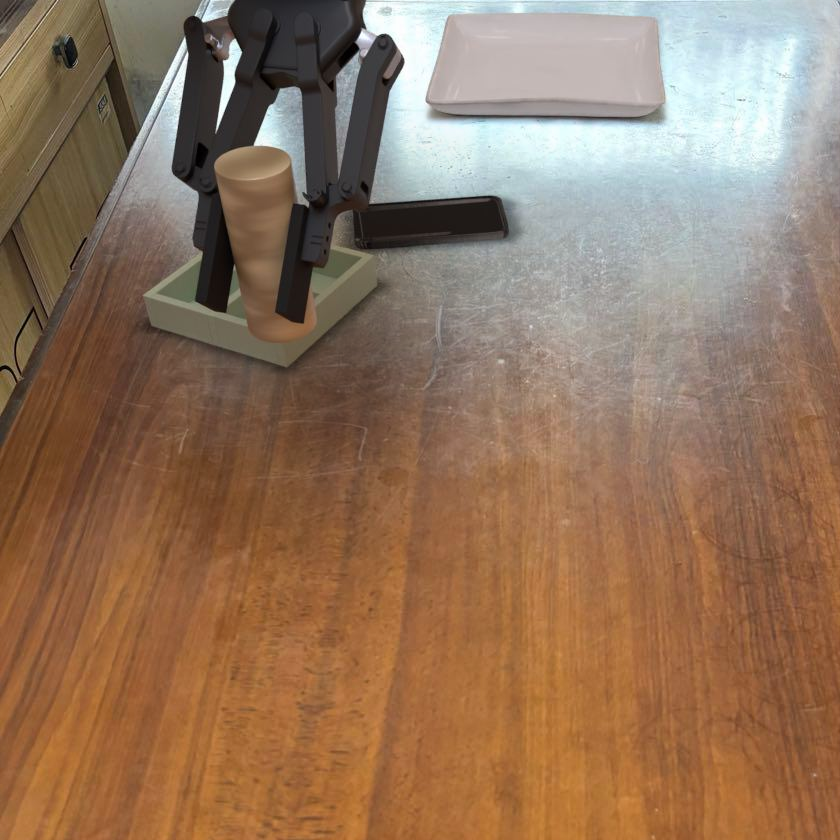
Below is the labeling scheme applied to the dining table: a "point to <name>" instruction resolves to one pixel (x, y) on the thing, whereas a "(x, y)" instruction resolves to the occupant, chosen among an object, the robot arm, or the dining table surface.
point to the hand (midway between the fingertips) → (250, 311)
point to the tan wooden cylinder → (261, 234)
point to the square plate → (548, 65)
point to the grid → (179, 313)
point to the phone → (430, 222)
